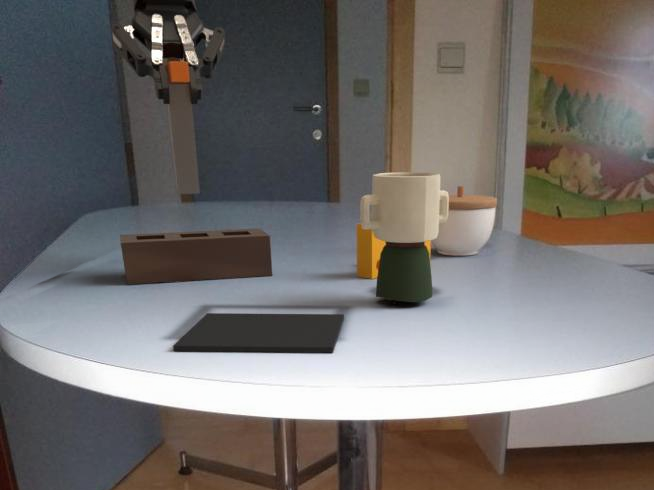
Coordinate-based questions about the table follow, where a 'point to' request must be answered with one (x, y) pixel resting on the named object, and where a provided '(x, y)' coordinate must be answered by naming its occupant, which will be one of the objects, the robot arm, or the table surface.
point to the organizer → (196, 255)
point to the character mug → (404, 231)
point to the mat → (263, 333)
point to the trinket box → (466, 224)
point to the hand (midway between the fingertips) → (180, 97)
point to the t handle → (182, 128)
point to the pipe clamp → (371, 252)
